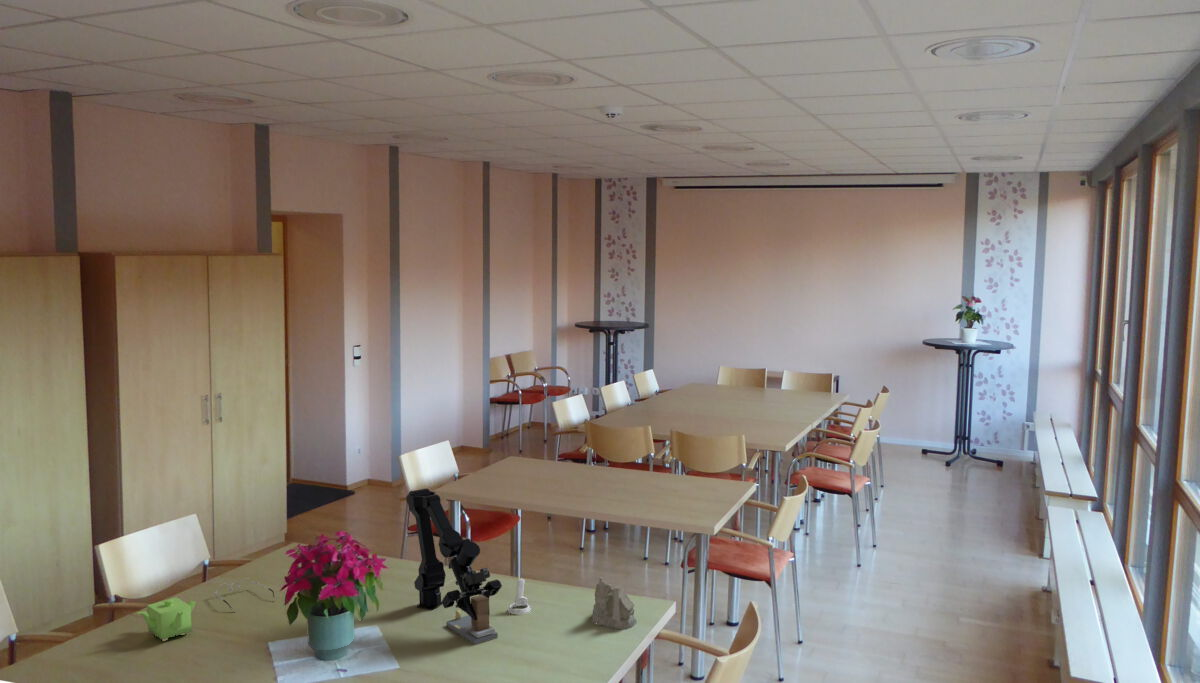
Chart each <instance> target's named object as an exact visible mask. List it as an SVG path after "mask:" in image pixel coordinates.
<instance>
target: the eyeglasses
mask: <svg viewBox="0 0 1200 683" xmlns="http://www.w3.org/2000/svg"><path fill="white" fill-rule="evenodd" d="M247 579H248V580H250V578H249V577H245V578H243V579H241V580H240V581H239V583H238V582H233V583H232V584H230V585H229V584H228V583H225V582H224V583H221V584H219V586H218V587H217V588H216V591H214V595H216V596H217V597H218V598H219V599H221V600H222V601H223V603H226V604H227V605H228V607H229V608H230V609H231V608H232V607H231V605H230V604H229V603H228V602H227V601H226V600H225V599H223V597H222V596H220V595H219V594H218V589H219V587H221V586H222V585H224V584H225V585H228V586H229V591H231V593H232V592H233V589H234V587H232V586H233V584H237V589H238V590H239V589H241V587H240V586H241V582H243V580H247ZM251 583H252V585H256V584H257V585H258V586H260V587H263V588H265V589H268V590H269V591H271V592H272V597H274V598H275V592H274V590H273V589H271V588H270V587H266V586H265V585H262V584H261V583H259V582H257V581H255V582H254V581H253V580H251Z"/></svg>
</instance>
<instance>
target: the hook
mask: <svg viewBox="0 0 1200 683" xmlns="http://www.w3.org/2000/svg"><path fill="white" fill-rule="evenodd" d="M525 582H526V580H525V579H524V578H518V579H517V584H516V592H515V598H514V602H513V603H511V604H510V605H509V607H508V609H507V613H508V612H509V613H508V614H510V613H511V614H510V615H513V614H524V613H527V612H529V611H530V610H531V611H532V609H531V606H530V605H529V604H528V598H527V597H526V596H524V589H525ZM516 606H525V607H524V608H521V609H520V608H519V609H517V607H516ZM513 607H514V608H513ZM531 611H530V612H531ZM530 612H529V613H530ZM527 614H528V613H527ZM524 615H525V614H524Z"/></svg>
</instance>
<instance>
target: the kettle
mask: <svg viewBox="0 0 1200 683" xmlns="http://www.w3.org/2000/svg"><path fill="white" fill-rule="evenodd" d="M196 603H197V602H196V601H191V600H190V602H189V603H187V602H185V601H183V600H181V599H180V598H178V597H172V598H168V599H165V600H160V601H157V602H154V603H150V604H147V605H146V610H147V611H145V610H142V611H138V612H136V614H137V615H141V616H143V618H144V620H145V623H146V626H147V631H148V630H149V631H148V632H150V633H151V632H152V633H151V634H152V635H154V634H155V635H156V636H157V637H156V638H159V639H160V640H161V639H165V638H169V637H170V638H173V637H176V636H179V634H182V633H186V634H187V633H189V632H192V630H193V628H192V612H193V609H194V607H195V605H196ZM175 635H176V636H175ZM170 638H169V639H170Z"/></svg>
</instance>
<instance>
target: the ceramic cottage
mask: <svg viewBox="0 0 1200 683" xmlns="http://www.w3.org/2000/svg"><path fill="white" fill-rule="evenodd" d="M598 579H599V580H598V582H599V583H598V582H596V583H595V584H596V586H595V591H594V600H595V603H594V605H593V609H592V616H591V622H593V624H595V623H597V624H599V625H598V626H600V625H603V626H602V627H605V626H607V627H606V628H610V627H611V629H615V628H616V630H627V629H628V628H629V629H632V628H633V627H635V626H636V625H637V618H636V617H635V615H634V614H635V609H634V607H635V604H634V602H633V601H632V600H631V599H630V597H629V596H628V594H627V592H626V591H625V589H624V588H622V589H620V587H619V586H617V585H616V586H614V589H612V584H611V583H608V584H607V583H606V581H605V580H603V577H602V576H600V577H599V578H598ZM597 624H596V625H597ZM629 629H628V630H629Z"/></svg>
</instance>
